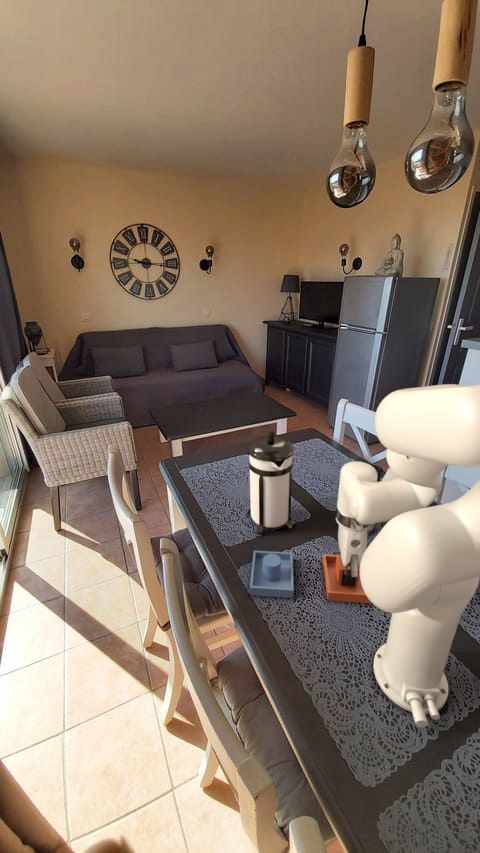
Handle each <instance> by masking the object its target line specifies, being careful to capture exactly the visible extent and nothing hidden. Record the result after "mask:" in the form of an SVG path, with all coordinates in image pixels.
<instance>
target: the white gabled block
mask: <svg viewBox="0 0 480 853" xmlns="http://www.w3.org/2000/svg"><path fill="white" fill-rule="evenodd" d="M399 478H400V477H399V476H397V475H396V474H395V473H394V472H393V471H392V470H391V468H390V467H388V468H387V471H386V472H385V474H384V475H383V477H382V479H381V481H387V480H393V479H399Z"/></svg>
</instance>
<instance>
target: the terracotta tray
mask: <svg viewBox="0 0 480 853" xmlns="http://www.w3.org/2000/svg"><path fill="white" fill-rule="evenodd" d="M337 555H338V554H326V553H325V554H322V561H321V562H322V568H323V576H324V584H325V590H326V597H327V598H326V599H327V601H328V602H342V603H343V602H344V603H356V604H358V603H359V604H372V605H374V604H373V603H372V602H371V601H370V600H369V599H368V597H367V596H366V594H365V592H364V590H363V588H362V585H361V581H360V566H359V564H358V566H359V577H358V584H357V585H355V586H342V585H341V584H339V583H338V582H337V576H336V570H335V566H336V557H337Z"/></svg>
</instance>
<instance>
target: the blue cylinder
mask: <svg viewBox="0 0 480 853" xmlns="http://www.w3.org/2000/svg"><path fill="white" fill-rule="evenodd" d="M280 576H281V559H280V557H279V556H278V555H276V554H267V555H265V556H264V558H263V577H264V578H265V579H266V580H267V581H270V582H274V581H277V580H279V578H280Z"/></svg>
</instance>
